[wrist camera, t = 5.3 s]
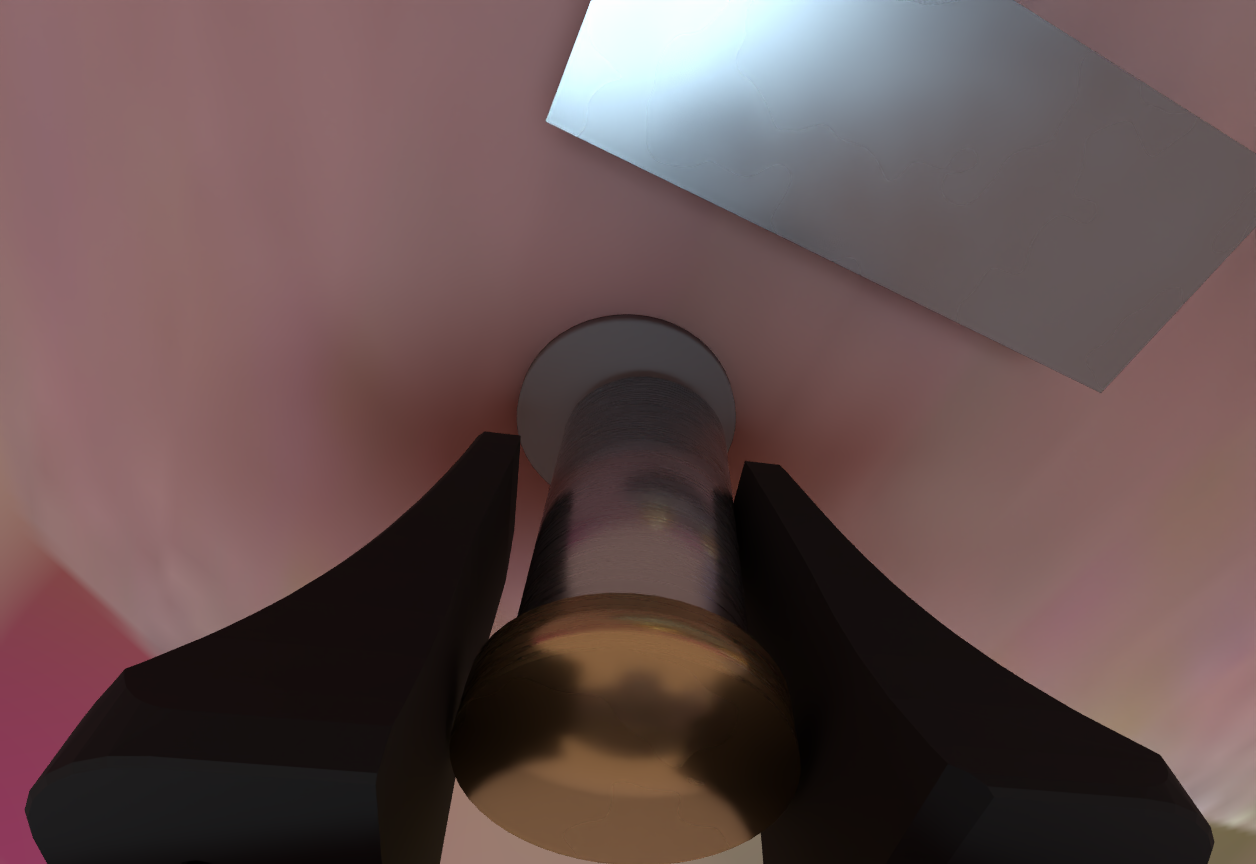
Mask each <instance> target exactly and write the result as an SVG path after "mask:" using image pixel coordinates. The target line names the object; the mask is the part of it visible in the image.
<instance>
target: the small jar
mask: <svg viewBox="0 0 1256 864" xmlns="http://www.w3.org/2000/svg"><path fill="white" fill-rule="evenodd" d="M449 751H450V761H451V765H452V769H453V772H454V775H455V777H456V778H457V781H458V783H459V785H460V787H461V788H462V790H463V791H464V793H465V794H466V796H467V797H468V798H469V800H471V802H472V803H473V804H474V805H475V806H476V807H477V808H478V809H479V810H480V811H481V812H482V813H483V814H484V815H486V816H487V817H488V818H489V819H490V820H491V821H493V822H494V823H496V824H497V825H499V826H500V827H502V828H503V829H505V830H506V831H508V832H509V833H511V834H513V835H515V836H517V837H519V838H521V839H523V840H524V841H527V842H529V843H531V844H534V845H536V846H538V847H541V848H543V849H546V850H549V851H553V852H555V853H558V854H562V855H566V856H570V857H574V858H577V859H583V860H588V861H594V862H600V863H608V864H671V863H680V862H685V861H691V860H696V859H700V858H704V857H708V856H711V855H715V854H718V853H721V852H723V851H726V850H729V849H731V848H734V847H736V846H738V845H740V844H742V843H744V842H746V841H748V840H750V839H752V838H753V837H755V836H756V835H758V834H759V833H761V832H763V831H764V830H765V829H766V828H768V827H769V826H770V825H771V824H772V823H774V822H775V821H776V820H777V819H778V818H779V816H780V815H781V814H782V813H783V812H784V811H785V810H786V808H787V807H788V805H789V803H790V802H791V800H792V799H793V797H794V795H795V792H796V789H797V787H798V784H799V778H800V771H801V764H800V753H799V747H798V741H797V735H796V729H795V723H794V717H793V711H792V705H791V699H790V693H789V690H788V686H787V683H786V679H785V677H784V675H783V673H782V671H781V669H780V667H779V665H778V664H777V663H776V661H775V660H774V659H773V657H772V656H771V655H770V653H769V652H768V651H767V650H766V649H765V648H764V647H763V646H762V645H761V644H760V643H759V642H758V641H757V640H756V639H755V638H754V637H753V636H751V635H750V634H749V633H748V625H747V616H746V608H745V600H744V591H743V583H742V574H741V566H740V557H739V549H738V540H737V532H736V524H735V515H734V507H733V498H732V490H731V481H730V473H729V464H728V456H727V447H726V439H725V434H724V430H723V426H722V424H721V422H720V420H719V418H718V416H717V415H716V413H715V411H714V410H713V409H712V408H711V406H710V405H709V404H708V403H707V402H706V401H705V400H704V399H703V398H702V397H700V396H699V395H698V394H697V393H695V392H694V391H692V390H691V389H689V388H687V387H685V386H683V385H681V384H678V383H676V382H673V381H670V380H666V379H661V378H655V377H630V378H623V379H619V380H616V381H612V382H610V383H607V384H605V385H603V386H601V387H599V388H597V389H595V390H594V391H592V392H591V393H590V394H588V395H587V396H586V397H585V398H583V399H582V400H581V401H580V402H579V403H578V405H577V406H576V407H575V409H574V410H573V411H572V413H571V415H570V417H569V418H568V421H567V423H566V426H565V429H564V433H563V437H562V441H561V445H560V449H559V453H558V457H557V461H556V465H555V469H554V473H553V477H552V481H551V485H550V489H549V493H548V497H547V501H546V505H545V509H544V513H543V517H542V521H541V525H540V529H539V533H538V537H537V541H536V545H535V549H534V553H533V556H532V560H531V564H530V568H529V572H528V576H527V580H526V584H525V588H524V592H523V596H522V600H521V604H520V608H519V612H518V616H517V618H515V619H513V620H512V621H510V622H508V623H507V624H505V625H504V626H503V627H502V628H501V629H499V630H498V631H497V632H496V633H494V634H493V635H492V636H491V637H490V639H489V640H488V641H487V642H486V643H485V644H484V645H483V646H482V648H481V649H480V651H479V653H478V654H477V656H476V658H475V659H474V661H473V664H472V667H471V669H470V672H469V675H468V678H467V681H466V685H465V688H464V691H463V695H462V698H461V701H460V705H459V708H458V711H457V715H456V718H455V721H454V724H453V728H452V731H451V737H450V744H449Z"/></svg>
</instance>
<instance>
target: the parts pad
mask: <svg viewBox="0 0 1256 864" xmlns="http://www.w3.org/2000/svg"><path fill="white" fill-rule="evenodd" d="M630 377H655V378H661V379H666V380H670V381H673V382H676V383H678V384H681V385H683V386H685V387H687V388H689V389H691V390H692V391H694V392H695V393H697V394H698V395H699V396H700V397H702V398H703V399H704V400H705V401H706V402H707V403H708V404H709V405H710V406H711V408H712V409H713V410H714V411H715V413H716V415H717V416H718V418H719V420H720V422H721V424H722V426H723V430H724V434H725V439H726V447H727V453H728V451H729V448H730V445H731V443H732V440H733V436H734V431H735V423H736V411H735V402H734V398H733V394H732V390H731V386H730V383H729V380H728V378H727V375H726V373H725V370H724V369H723V367H722V365H721V364H720V362H719V360H718V359H717V357H716V356H715V355H714V354H713V353H712V351H711V350H710V349H709V348H708V347H707V346H706V345H705V344H704V343H703V342H702V341H700V340H699V339H698V338H697V337H695V336H694V335H692V334H691V333H689V332H688V331H686V330H684V329H682V328H680V327H678V326H676V325H674V324H672V323H669V322H666V321H663V320H661V319H656V318H652V317H647V316H639V315H613V316H606V317H600V318H597V319H593V320H589V321H586V322H584V323H581V324H579V325H577V326H574V327H572V328H570V329H569V330H567V331H565V332H563V333H562V334H560V335H559V336H558V337H556V338H555V339H554V340H552V341H551V342H550V343H549V344H548V345H547V346H546V347H545V348H544V349H543V350H542V351H541V352H540V353H539V354H538V356H537V357H536V359H535V360H534V361H533V363H532V364H531V366H530V368H529V370H528V372H527V374H526V376H525V379H524V382H523V385H522V388H521V392H520V396H519V401H518V406H517V428H518V434H519V436H521V440H520V442H521V445H522V447H523V450H524V452H525V454H526V456H527V458H528V459H529V461H530V463H531V464H532V466H533V467H534V468H535V470H536V471H537V472H538V473H539V475H540V476H541V477H542V478H543V479H544V480H545V481H547V482H548V483H549V484H550V485H551V481H552V477H553V473H554V469H555V465H556V461H557V457H558V453H559V449H560V445H561V441H562V437H563V433H564V429H565V426H566V423H567V421H568V418H569V417H570V415H571V413H572V411H573V410H574V409H575V407H576V406H577V405H578V403H579V402H580V401H581V400H582V399H583V398H585V397H586V396H587V395H588V394H590V393H591V392H592V391H594V390H595V389H597V388H599V387H601V386H603V385H605V384H607V383H610V382H612V381H616V380H619V379H623V378H630Z"/></svg>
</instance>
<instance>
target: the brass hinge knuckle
mask: <svg viewBox="0 0 1256 864" xmlns="http://www.w3.org/2000/svg"><path fill="white" fill-rule="evenodd" d="M546 122H548V123H550V124H552V125H554V126H556V127H558V128H560V129H562V130H564V131H566V132H568V133H570V134H572V135H575V136H577V137H579V138H581V139H583V140H585V141H587V142H589V143H591V144H593V145H595V146H597V147H599V148H601V149H603V150H605V151H607V152H609V153H611V154H613V155H615V156H617V157H619V158H622V159H624V160H626V161H628V162H630V163H632V164H634V165H636V166H638V167H640V168H642V169H644V170H646V171H648V172H650V173H652V174H654V175H656V176H658V177H660V178H662V179H664V180H666V181H669V182H671V183H673V184H675V185H677V186H679V187H681V188H683V189H685V190H687V191H689V192H691V193H693V194H695V195H697V196H699V197H701V198H703V199H705V200H707V201H709V202H711V203H713V204H716V205H718V206H720V207H722V208H724V209H726V210H728V211H730V212H732V213H734V214H736V215H738V216H740V217H742V218H744V219H746V220H748V221H750V222H752V223H754V224H756V225H758V226H760V227H763V228H765V229H767V230H769V231H771V232H773V233H775V234H777V235H779V236H781V237H783V238H785V239H787V240H789V241H791V242H793V243H795V244H797V245H799V246H801V247H803V248H805V249H808V250H810V251H812V252H814V253H816V254H818V255H820V256H822V257H824V258H826V259H828V260H830V261H832V262H834V263H836V264H838V265H840V266H842V267H844V268H846V269H848V270H850V271H852V272H855V273H857V274H859V275H861V276H863V277H865V278H867V279H869V280H871V281H873V282H875V283H877V284H879V285H881V286H883V287H885V288H887V289H889V290H891V291H893V292H895V293H897V294H899V295H902V296H904V297H906V298H908V299H910V300H912V301H914V302H916V303H918V304H920V305H922V306H924V307H926V308H928V309H930V310H932V311H934V312H936V313H938V314H940V315H942V316H944V317H946V318H949V319H951V320H953V321H955V322H957V323H959V324H961V325H963V326H965V327H967V328H969V329H971V330H973V331H975V332H977V333H979V334H981V335H983V336H985V337H987V338H989V339H991V340H993V341H996V342H998V343H1000V344H1002V345H1004V346H1006V347H1008V348H1010V349H1012V350H1014V351H1016V352H1018V353H1020V354H1022V355H1024V356H1026V357H1028V358H1030V359H1032V360H1034V361H1036V362H1038V363H1040V364H1043V365H1045V366H1047V367H1049V368H1051V369H1053V370H1055V371H1057V372H1059V373H1061V374H1063V375H1065V376H1067V377H1069V378H1071V379H1073V380H1075V381H1077V382H1079V383H1081V384H1083V385H1085V386H1087V387H1090V388H1092V389H1094V390H1096V391H1098V392H1100V393H1102V392H1103V391H1104V389H1105V388H1106V387H1107V386H1108V385H1109V384H1110V383H1111V382H1112V381H1113V380H1114V379H1115V378H1116V377H1117V375H1118V374H1119V373H1120V372H1121V371H1122V370H1123V369H1124V368H1125V367H1126V366H1127V365H1128V364H1129V363H1130V361H1131V360H1132V359H1133V358H1134V357H1135V356H1136V355H1137V354H1138V353H1139V352H1140V351H1141V350H1142V349H1143V348H1144V346H1145V345H1146V344H1147V343H1148V342H1149V341H1150V340H1151V339H1152V338H1153V337H1154V336H1155V335H1156V334H1157V332H1158V331H1159V330H1160V329H1161V328H1162V327H1163V326H1164V325H1165V324H1166V323H1167V322H1168V321H1169V320H1170V318H1171V317H1172V316H1173V315H1174V314H1175V313H1176V312H1177V311H1178V310H1179V309H1180V308H1181V307H1182V306H1183V304H1184V303H1185V302H1186V301H1187V300H1188V299H1189V298H1190V297H1191V296H1192V295H1193V294H1194V293H1195V292H1196V291H1197V289H1198V288H1199V287H1200V286H1201V285H1202V284H1203V283H1204V282H1205V281H1206V280H1207V279H1208V278H1209V277H1210V275H1211V274H1212V273H1213V272H1214V271H1215V270H1216V269H1217V268H1218V267H1219V266H1220V265H1221V264H1222V263H1223V261H1224V260H1225V259H1226V258H1227V257H1228V256H1229V255H1230V254H1231V253H1232V252H1233V251H1234V250H1235V249H1236V247H1237V246H1238V245H1239V244H1240V243H1241V242H1242V241H1243V240H1244V239H1245V238H1246V237H1247V236H1248V235H1249V233H1250V232H1251V231H1252V230H1253V229H1254V228H1255V227H1256V153H1254V152H1252V151H1251V150H1249V149H1248V148H1246V147H1245V146H1243V145H1241V144H1240V143H1238V142H1237V141H1235V140H1233V139H1232V138H1230V137H1229V136H1227V135H1226V134H1224V133H1222V132H1221V131H1219V130H1218V129H1216V128H1215V127H1213V126H1211V125H1210V124H1208V123H1207V122H1205V121H1203V120H1202V119H1200V118H1199V117H1197V116H1196V115H1194V114H1192V113H1191V112H1189V111H1188V110H1186V109H1185V108H1183V107H1181V106H1180V105H1178V104H1177V103H1175V102H1173V101H1172V100H1170V99H1169V98H1167V97H1166V96H1164V95H1162V94H1161V93H1159V92H1158V91H1156V90H1154V89H1153V88H1151V87H1150V86H1148V85H1147V84H1145V83H1143V82H1142V81H1140V80H1139V79H1137V78H1136V77H1134V76H1132V75H1131V74H1129V73H1128V72H1126V71H1124V70H1123V69H1121V68H1120V67H1118V66H1117V65H1115V64H1113V63H1112V62H1110V61H1109V60H1107V59H1106V58H1104V57H1102V56H1101V55H1099V54H1098V53H1096V52H1094V51H1093V50H1091V49H1090V48H1088V47H1087V46H1085V45H1083V44H1082V43H1080V42H1079V41H1077V40H1076V39H1074V38H1072V37H1071V36H1069V35H1068V34H1066V33H1064V32H1063V31H1061V30H1060V29H1058V28H1057V27H1055V26H1053V25H1052V24H1050V23H1049V22H1047V21H1046V20H1044V19H1042V18H1041V17H1039V16H1038V15H1036V14H1034V13H1033V12H1031V11H1030V10H1028V9H1027V8H1025V7H1023V6H1022V5H1020V4H1019V3H1017V2H1015V1H1014V0H591V2H590V5H589V8H588V10H587V13H586V16H585V18H584V21H583V24H582V26H581V29H580V32H579V34H578V37H577V40H576V42H575V45H574V48H573V50H572V53H571V56H570V58H569V61H568V64H567V66H566V69H565V71H564V74H563V77H562V79H561V82H560V85H559V87H558V90H557V93H556V95H555V98H554V101H553V103H552V106H551V109H550V111H549V114H548V117H547V119H546Z"/></svg>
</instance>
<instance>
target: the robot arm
mask: <svg viewBox="0 0 1256 864" xmlns="http://www.w3.org/2000/svg"><path fill="white" fill-rule="evenodd" d="M520 440H521V436H519V435H510V434H501V433H492V432H483V433H482V434H481V435H479V436H478V437H477V438H476V439H475V441H474V442H473V443H472V444H471V446H470V447H469V448H468V449H467V450H466V452H465V453H464V454H463V455H462V456H461V457H460V459H459V460H458V461H457V462H456V463H455V464H454V465H453V466H452V467H451V468H450V470H449V471H448V472H447V473H446V474H445V475H444V476H443V477H442V478H441V479H440V480H439V481H438V482H437V483H436V484H435V485H434V486H433V487H432V488H431V489H430V490H429V491H428V492H427V493H426V494H425V495H424V496H423V497H422V498H421V499H420V500H419V501H418V502H417V503H416V504H414V505H413V506H412V507H411V508H410V509H409V510H408V511H406V512H405V513H404V514H403V515H402V516H401V517H400V518H398V519H397V520H396V521H395V522H394V523H393V524H392V525H391V526H389V527H388V528H387V529H386V530H385V531H383V532H382V533H381V534H380V535H378V536H377V537H376V538H375V539H373V540H372V541H371V542H369V543H368V544H367V545H365V546H364V547H363V548H361V549H360V550H359V551H357V552H356V553H354V554H353V555H352V556H350V557H349V558H347V559H346V560H345V561H343V562H342V563H340V564H339V565H337V566H336V567H334V568H333V569H331V570H330V571H328V572H326V573H325V574H323V575H322V576H320V577H318V578H317V579H315V580H313V581H312V582H310V583H308V584H307V585H305V586H304V587H302V588H300V589H299V590H297V591H295V592H294V593H292V594H290V595H288V596H287V597H285V598H283V599H281V600H279V601H277V602H275V603H274V604H272V605H270V606H268V607H266V608H264V609H262V610H260V611H258V612H256V613H254V614H252V615H250V616H248V617H246V618H244V619H242V620H240V621H238V622H236V623H234V624H232V625H230V626H227V627H225V628H223V629H221V630H219V631H217V632H214V633H212V634H210V635H208V636H206V637H203V638H201V639H198V640H196V641H193V642H191V643H189V644H186V645H184V646H181V647H179V648H176V649H174V650H171V651H169V652H167V653H164V654H162V655H159V656H157V657H154V658H152V659H150V660H147V661H145V662H142V663H140V664H137V665H134V666H131V667H129V668H126V669H125V670H124V671H123V672H122V673H121V674H120V676H119V677H118V678H117V679H116V680H115V681H114V682H113V684H112V685H111V686H110V687H109V688H108V689H107V690H106V691H105V692H104V693H103V695H102V696H101V697H100V698H99V699H98V700H97V701H96V702H95V704H94V705H93V706H92V708H91V709H90V710H89V711H88V713H87V714H86V715H85V716H84V718H83V719H82V720H81V722H80V723H79V724H78V726H77V727H76V728H75V730H74V731H73V732H72V734H71V735H70V736H69V738H68V739H67V741H66V742H65V743H64V745H63V746H62V747H61V749H60V750H59V752H58V753H57V754H56V756H55V757H54V758H53V760H52V761H51V762H50V764H49V765H48V766H47V768H46V769H45V771H44V772H43V773H42V775H41V776H40V777H39V779H38V780H37V782H36V783H35V784H34V785H33V787H32V788H31V790H30V791H29V795H28V799H27V803H26V807H25V813H26V816H27V820H28V823H29V826H30V830H31V833H32V836H33V839H34V840H35V842H36V844H37V846H38V848H39V850H40V851H41V853H42V855H43V857H44V859H45V860H46V862H47V864H440V860H441V854H442V848H443V843H444V836H445V832H446V825H447V821H448V814H449V809H450V804H451V799H452V793H453V788H454V782H455V775H454V772H453V769H452V765H451V761H450V751H449V744H450V737H451V731H452V728H453V724H454V721H455V718H456V715H457V711H458V708H459V705H460V701H461V698H462V695H463V691H464V688H465V685H466V681H467V678H468V675H469V672H470V669H471V667H472V664H473V661H474V659H475V658H476V656H477V654H478V653H479V651H480V649H481V648H482V646H483V645H484V644H485V643H486V642H487V641H488V640H489V636H490V633H491V630H492V626H493V623H494V619H495V616H496V612H497V609H498V605H499V602H500V599H501V595H502V592H503V588H504V585H505V581H506V575H507V570H508V564H509V558H510V552H511V546H512V540H513V534H514V525H515V511H516V497H517V483H518V468H519V454H520ZM733 507H734V515H735V524H736V532H737V540H738V549H739V557H740V566H741V574H742V583H743V591H744V600H745V608H746V616H747V625H748V633H749V634H750V635H751V636H753V637H754V638H755V639H756V640H757V641H758V642H759V643H760V644H761V645H762V646H763V647H764V648H765V649H766V650H767V651H768V652H769V653H770V655H771V656H772V657H773V659H774V660H775V661H776V663H777V664H778V665H779V667H780V669H781V671H782V673H783V675H784V677H785V679H786V683H787V686H788V690H789V693H790V699H791V705H792V711H793V717H794V723H795V729H796V735H797V741H798V747H799V753H800V764H801V771H800V778H799V784H798V787H797V789H796V792H795V795H794V797H793V799H792V800H791V802H790V803H789V805H788V807H787V808H786V810H785V811H784V812H783V813H782V814H781V815H780V816H779V818H778V819H777V820H776V821H775V822H774V823H772V824H771V825H770V826H769V827H768V828H766V829H765V830H764V831H763V832H761V841H762V853H763V864H1208V861H1209V858H1210V855H1211V851H1212V849H1213V845H1214V839H1213V835H1212V831H1211V827H1210V825H1209V824H1208V822H1207V821H1206V819H1205V818H1204V817H1203V815H1202V814H1201V812H1200V811H1199V809H1198V808H1197V807H1196V805H1195V804H1194V802H1193V801H1192V799H1191V798H1190V797H1189V795H1188V794H1187V792H1186V791H1185V789H1184V788H1183V787H1182V785H1181V784H1180V782H1179V781H1178V779H1177V778H1176V777H1175V775H1174V774H1173V772H1172V771H1171V769H1170V768H1169V767H1168V765H1167V764H1166V762H1165V761H1164V760H1163V758H1162V757H1161V756H1160V755H1159V754H1157V753H1155V752H1153V751H1152V750H1150V749H1148V748H1146V747H1144V746H1142V745H1140V744H1138V743H1136V742H1134V741H1132V740H1130V739H1128V738H1127V737H1125V736H1123V735H1121V734H1119V733H1117V732H1115V731H1113V730H1111V729H1109V728H1107V727H1105V726H1104V725H1102V724H1100V723H1098V722H1096V721H1094V720H1092V719H1090V718H1088V717H1086V716H1084V715H1082V714H1080V713H1079V712H1077V711H1075V710H1073V709H1072V708H1070V707H1068V706H1066V705H1065V704H1063V703H1061V702H1060V701H1058V700H1056V699H1055V698H1053V697H1051V696H1049V695H1048V694H1046V693H1044V692H1043V691H1041V690H1039V689H1038V688H1036V687H1034V686H1033V685H1031V684H1029V683H1028V682H1026V681H1024V680H1023V679H1021V678H1020V677H1018V676H1017V675H1015V674H1013V673H1012V672H1010V671H1009V670H1007V669H1006V668H1004V667H1002V666H1001V665H999V664H998V663H996V662H995V661H993V660H992V659H991V658H989V657H988V656H986V655H985V654H983V653H982V652H981V651H979V650H978V649H976V648H975V647H973V646H972V645H970V644H969V643H968V642H966V641H965V640H963V639H962V638H960V637H959V636H958V635H956V634H955V633H954V632H952V631H951V630H950V629H948V628H947V627H946V626H944V625H943V624H942V623H940V622H939V621H938V620H937V619H935V618H934V617H933V616H932V615H930V614H929V613H928V612H927V611H925V610H924V609H923V608H922V607H921V606H919V605H918V604H917V603H916V602H914V601H913V600H912V599H911V598H909V597H908V596H907V595H906V594H905V593H904V592H902V591H901V590H900V589H899V588H898V587H897V586H896V585H894V584H893V583H892V582H891V581H890V580H889V579H888V578H887V577H886V576H885V575H884V574H883V573H881V572H880V571H879V570H878V569H877V568H876V567H875V566H874V565H873V564H872V563H871V562H870V561H869V560H868V559H867V558H866V557H865V556H864V555H863V554H862V553H861V552H860V551H859V550H858V549H857V548H856V547H855V546H854V545H853V544H852V543H851V542H850V541H849V540H848V539H847V538H846V537H845V536H844V535H843V534H842V533H841V532H840V531H839V530H838V529H837V528H836V526H835V525H834V524H833V523H832V522H831V521H830V520H829V519H828V518H827V517H826V516H825V515H824V513H823V512H822V511H821V510H820V509H819V508H818V507H817V506H816V504H815V503H814V502H813V501H812V500H811V499H810V498H809V497H808V496H807V494H806V493H805V492H804V491H803V490H802V489H801V488H800V486H799V485H798V484H797V483H796V482H795V481H794V480H793V479H792V478H791V476H790V475H789V474H788V473H787V472H786V471H785V470H784V469H783V468H782V467H781V466H780V465H775V464H766V463H758V462H749V461H745V463H744V467H743V470H742V474H741V478H740V481H739V485H738V489H737V492H736V496H735V500H734V503H733Z"/></svg>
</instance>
